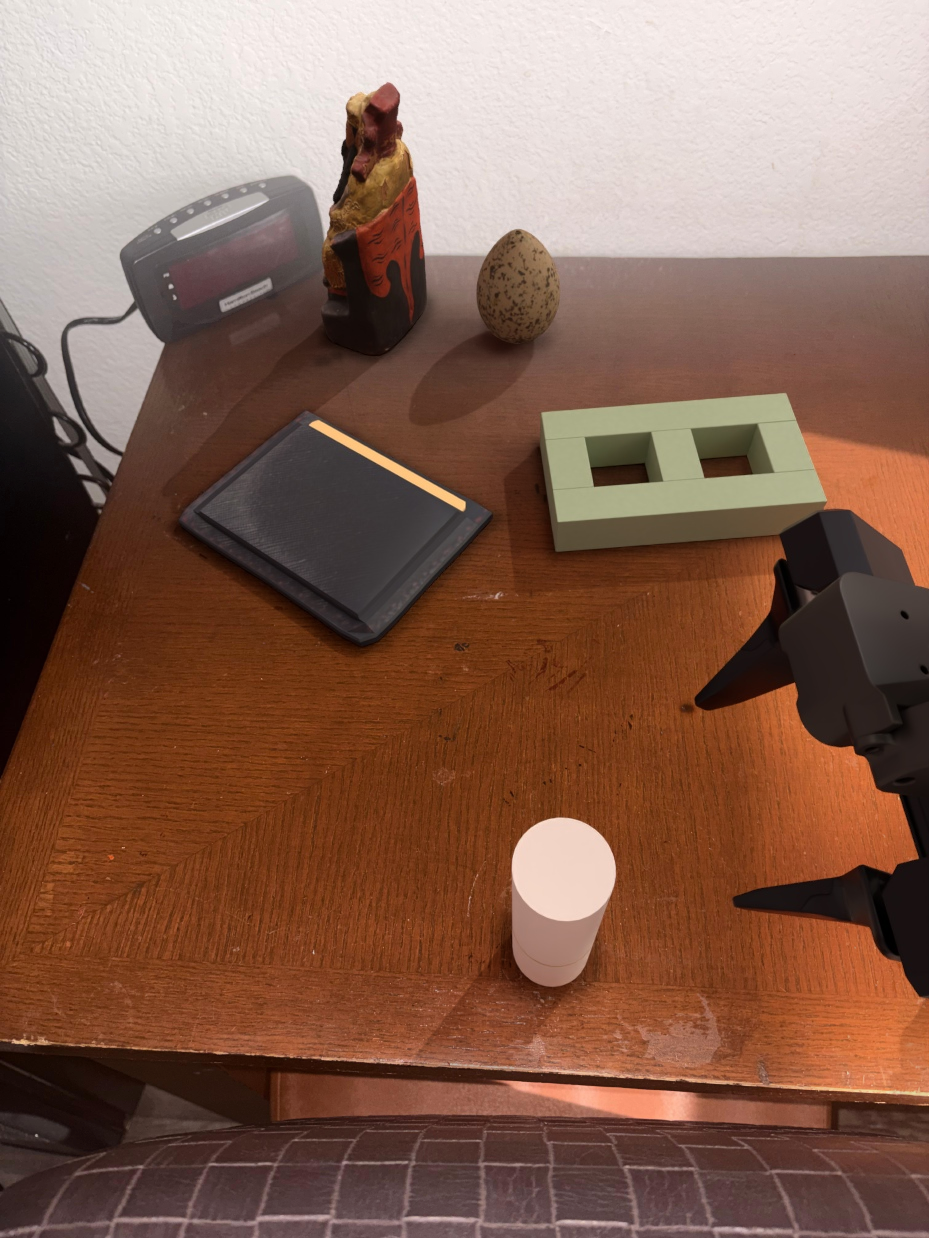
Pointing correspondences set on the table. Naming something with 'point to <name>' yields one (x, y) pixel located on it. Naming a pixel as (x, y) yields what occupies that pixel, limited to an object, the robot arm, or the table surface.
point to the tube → (558, 898)
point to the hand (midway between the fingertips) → (717, 797)
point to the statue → (374, 232)
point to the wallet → (335, 526)
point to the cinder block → (676, 472)
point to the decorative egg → (518, 288)
